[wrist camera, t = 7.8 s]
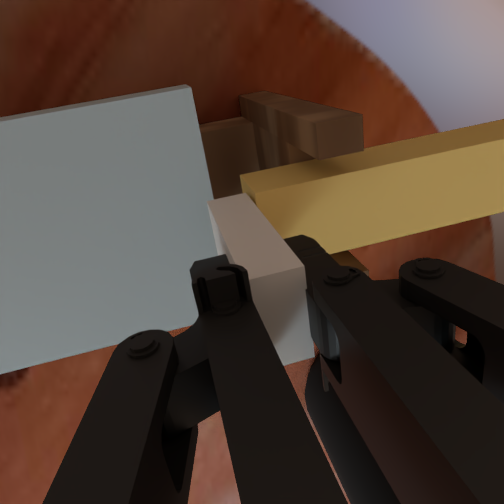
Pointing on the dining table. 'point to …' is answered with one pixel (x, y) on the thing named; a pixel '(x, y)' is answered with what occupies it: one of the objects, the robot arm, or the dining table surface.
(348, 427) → the coffee jar
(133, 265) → the lid
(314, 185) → the yellow block
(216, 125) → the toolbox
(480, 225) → the dining table surface
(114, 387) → the robot arm
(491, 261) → the dining table surface
